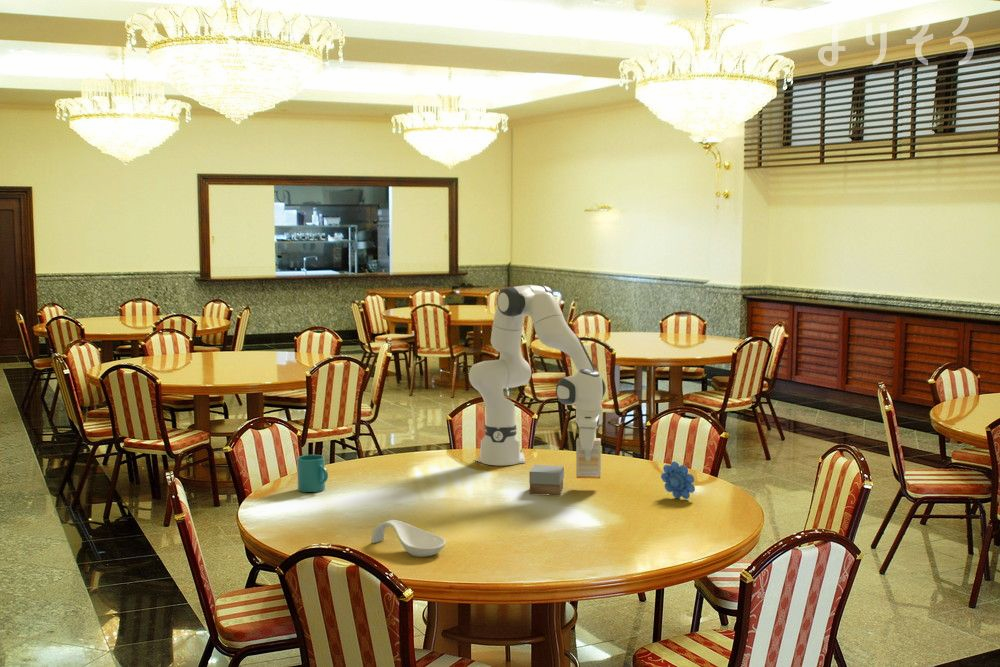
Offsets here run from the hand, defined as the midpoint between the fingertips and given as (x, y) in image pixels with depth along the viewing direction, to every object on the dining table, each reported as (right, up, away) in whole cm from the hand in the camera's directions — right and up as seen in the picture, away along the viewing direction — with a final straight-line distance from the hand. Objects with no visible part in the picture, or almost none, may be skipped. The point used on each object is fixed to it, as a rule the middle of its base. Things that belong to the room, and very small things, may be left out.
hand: (588, 458), depth 337 cm
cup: (-92, -11, 0) cm, 93 cm away
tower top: (-14, -7, -3) cm, 16 cm away
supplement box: (0, -7, +1) cm, 7 cm away
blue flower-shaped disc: (+27, -12, -13) cm, 32 cm away
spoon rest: (-55, -17, -64) cm, 87 cm away
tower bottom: (-14, -11, -2) cm, 18 cm away
